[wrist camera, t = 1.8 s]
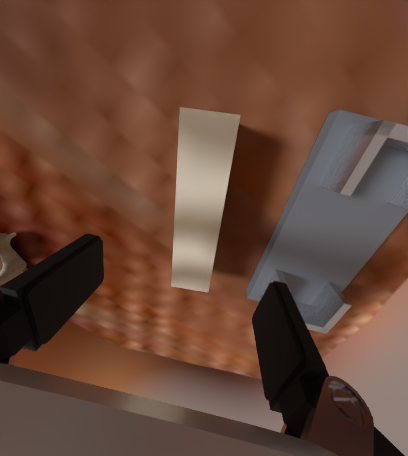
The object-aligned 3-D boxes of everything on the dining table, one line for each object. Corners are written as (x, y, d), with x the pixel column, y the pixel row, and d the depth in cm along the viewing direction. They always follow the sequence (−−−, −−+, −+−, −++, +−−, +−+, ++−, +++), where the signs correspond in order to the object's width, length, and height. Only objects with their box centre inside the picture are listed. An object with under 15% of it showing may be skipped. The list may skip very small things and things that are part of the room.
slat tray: (329, 112, 14) (340, 109, 13) (443, 142, 15) (465, 142, 13) (246, 289, 24) (247, 298, 23) (316, 307, 24) (321, 316, 23)
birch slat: (192, 117, 16) (180, 107, 11) (235, 123, 16) (240, 114, 11) (181, 258, 23) (171, 286, 19) (211, 263, 23) (208, 292, 18)
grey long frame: (352, 124, 13) (384, 119, 11) (440, 147, 14) (494, 148, 11) (260, 297, 22) (265, 318, 20) (313, 310, 22) (326, 333, 20)
